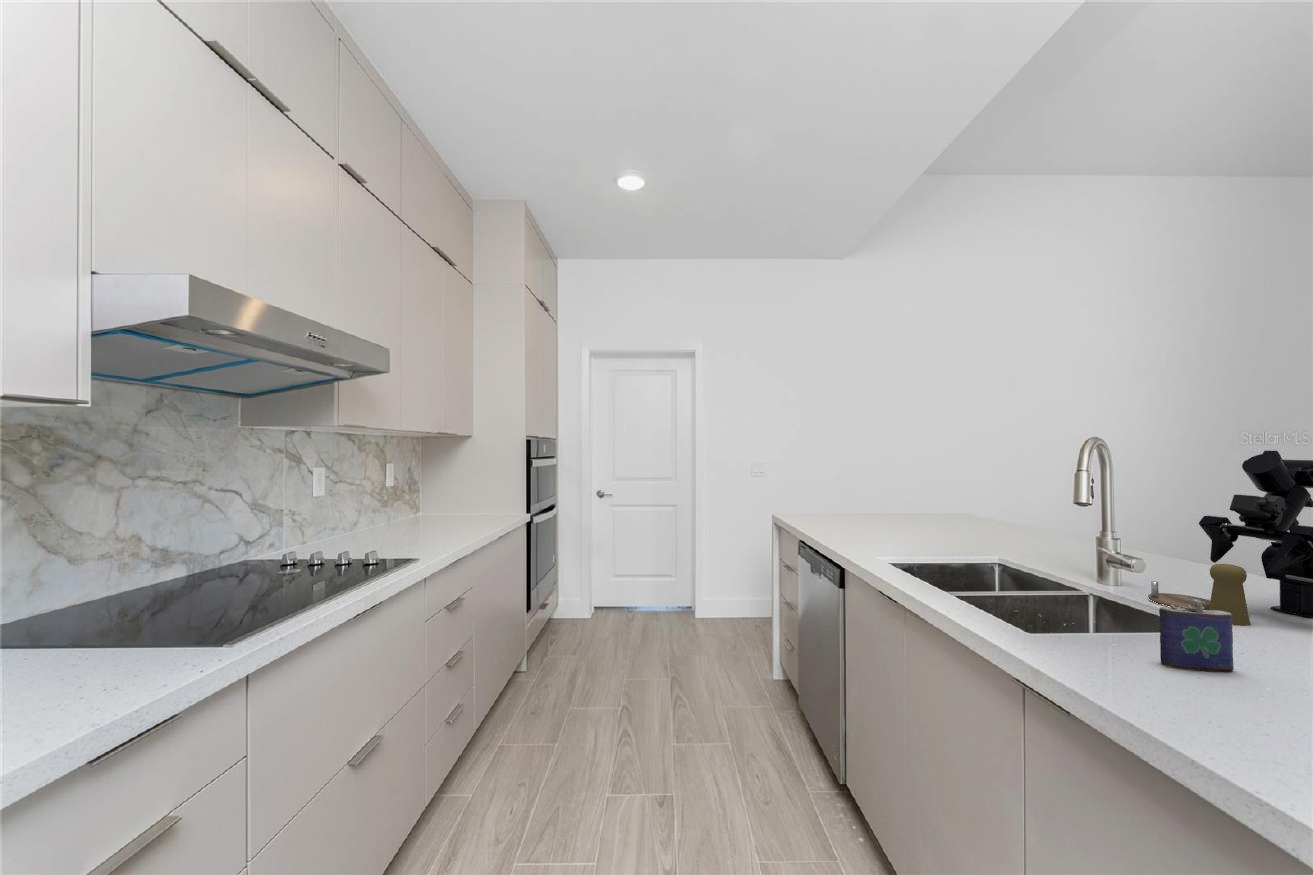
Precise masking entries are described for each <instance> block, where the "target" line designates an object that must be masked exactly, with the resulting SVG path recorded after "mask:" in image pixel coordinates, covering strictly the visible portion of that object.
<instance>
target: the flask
mask: <svg viewBox="0 0 1313 875" xmlns="http://www.w3.org/2000/svg"><path fill="white" fill-rule="evenodd" d="M1192 601H1193V603H1192V604H1191V605H1188V606H1187V607H1184V606H1179V607H1175V606H1174V605H1171V607H1167V606H1164V607H1163V606H1162V607H1160V608H1159V609H1158V613H1159V634H1160V635H1159V643H1160V644H1159V645H1160V648H1159V649H1160V650H1159V652H1160V662H1161V663H1160V664H1161V665H1162V664H1163V665H1162V666H1164V667H1165V668H1167V667H1168V668H1172V669H1180V670H1189V671H1205V672H1215V673H1216V672H1217V673H1218V672H1219V673H1221V672H1222V673H1233V671H1234V650H1233V649H1234V646H1233V644H1234V636H1233V634H1234V633H1233V625H1232V614H1231V613H1228V612H1224V611H1218V610H1204V607H1202V602H1201V601H1200V600H1195V599H1193V600H1192ZM1203 604H1205V603H1203ZM1181 607H1182V608H1181ZM1184 608H1185V609H1184Z"/></svg>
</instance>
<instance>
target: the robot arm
mask: <svg viewBox="0 0 1313 875" xmlns="http://www.w3.org/2000/svg"><path fill="white" fill-rule="evenodd" d="M1241 468H1242V470H1243V471H1244V473H1245V474H1246V475H1247V477H1248V478H1249V480H1250V481H1251V482H1252V484H1253V485H1254V487H1255V488H1256V489H1257V490H1259V491H1261V492H1262V493H1263V492H1264V493H1265V494H1264V495H1263V496H1259V495H1251V494H1250V495H1247V494H1233V496H1232V500H1231V503H1230V506H1229V507H1228V508H1229V510H1230V511H1231V512H1235V513H1237V514H1238V515H1239V516H1238V520H1240V522H1241V523H1243V524H1244V525H1241V524H1234V523H1232V522H1231V520H1230V519H1229V517H1225V516H1218V515H1217V516H1216V515H1203V516H1202V518H1201V519H1200V520H1199V521H1198V525H1199V526H1200V528H1201V529H1202V530H1203V532H1204V533H1205V534H1206V535H1207V537H1209V539H1210V541H1211V547H1210V557H1209V559H1210V561H1211V562H1212V563H1214V564H1217V562H1219V561H1220V560H1221V559H1222V558H1223V557H1224V556H1225V555H1226V554H1227V553H1228V552H1229V551H1230V550H1231V549H1233V547H1234V546H1235V545H1234V542H1235V543H1236V541H1237V540H1238V539H1239V536H1242V537H1250V538H1255V539H1260V540H1263V541H1270V545H1269V546H1267V547H1266V548H1265V549H1264V550H1263V552H1262V553H1261V555H1260V556H1261V558H1260V560H1261V563H1262V567H1263V570H1264V573H1265V578H1266V579H1267V580H1268V579H1270V580H1276V581H1279V605H1273V606H1270V610H1274V611H1278V612H1284V613H1288V614H1292V615H1296V616H1302V617H1306V618H1311V619H1312V618H1313V526H1310V525H1301V524H1300V521H1298V520H1297V518H1298V517H1299V515H1300V513H1301V512H1302V511H1303V509H1304V508H1313V498H1312V496H1311V493H1310V492H1309V491H1308V489H1313V459H1310V460H1309V459H1284V458H1282V456H1281V454H1280V453H1279V451H1278V450H1264V451H1263V452H1262V453H1260V454H1255V455H1253V456H1251V457H1250V458H1249V457H1248V459H1245V460H1244V461H1243V462H1242V464H1241ZM1299 524H1300V525H1299Z"/></svg>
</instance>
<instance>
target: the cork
mask: <svg viewBox="0 0 1313 875" xmlns="http://www.w3.org/2000/svg"><path fill="white" fill-rule="evenodd" d="M1209 576H1210V577H1211V579H1212V580H1213V583H1212V587H1211V588H1212V589H1211V596H1210V605H1209V610H1218V611H1224V612H1228V613H1231V614H1232V624H1234V625H1233V626H1238V625H1240V626H1242V627H1244V626H1250V625H1251V620H1250V615H1249V609H1248V605H1247V600H1246V594H1245V589H1244V585H1243V584H1244V583H1245V582H1246V580H1247V576H1248V574H1247V572H1246V570H1245V568H1243V567H1241V566H1239V565H1236V564H1230V563H1214V564H1212V566H1210V568H1209Z"/></svg>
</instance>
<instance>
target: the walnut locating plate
mask: <svg viewBox="0 0 1313 875" xmlns="http://www.w3.org/2000/svg"><path fill="white" fill-rule="evenodd" d="M1150 584H1151V589H1150V592H1151V593H1149V594H1148V595H1147V596H1148V597H1147V598H1149V599H1150V600H1152V601H1154V602H1156V603H1158V604H1157V605H1159V604H1164V605H1167V606H1170V607H1171V605H1174V606H1175V607H1179V606H1184V607H1187V606H1188V605H1191V604H1192V603H1193V601H1192V600H1193V599H1195V600H1200V601H1201V602H1202V607H1204V610H1209V605H1210V600H1211V599H1210V600H1209V599H1206V598H1203V597H1198V596H1192V595H1188V594H1187V595H1186V594H1179V593H1178V594H1177V593H1168V592H1167V593H1166V592H1159V581H1156V580H1152V581H1151V582H1150ZM1156 603H1155V604H1156ZM1203 603H1205V604H1203ZM1167 606H1166V607H1167ZM1181 608H1182V607H1181ZM1184 609H1185V608H1184Z"/></svg>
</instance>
